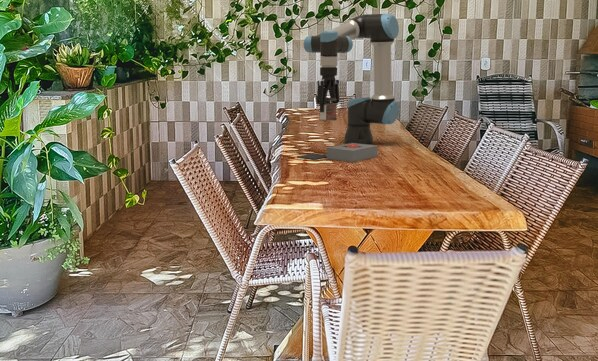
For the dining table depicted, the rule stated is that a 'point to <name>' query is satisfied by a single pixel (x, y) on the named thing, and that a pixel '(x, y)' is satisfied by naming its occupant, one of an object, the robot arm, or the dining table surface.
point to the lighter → (330, 110)
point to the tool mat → (313, 156)
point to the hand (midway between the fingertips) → (327, 118)
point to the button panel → (352, 152)
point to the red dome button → (352, 145)
